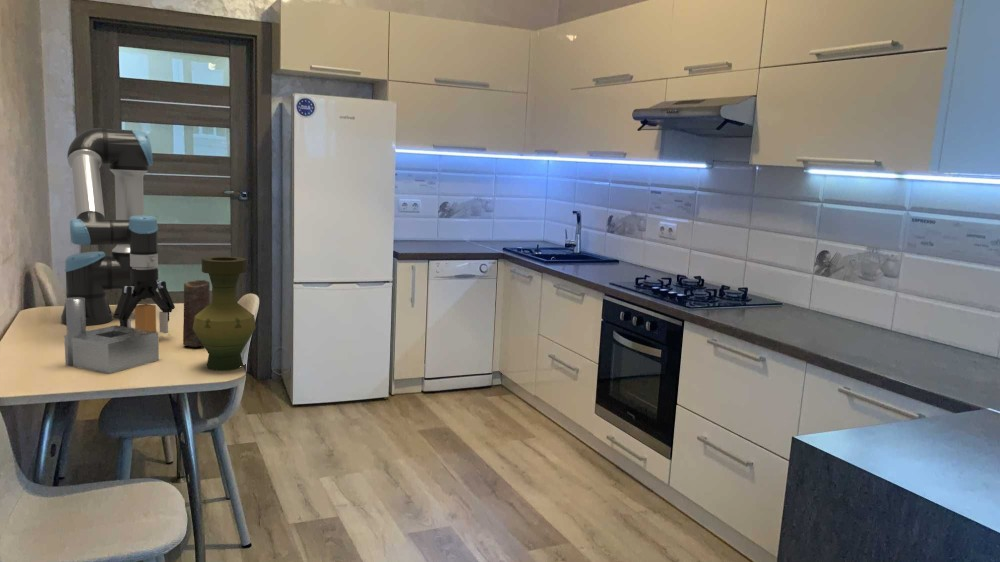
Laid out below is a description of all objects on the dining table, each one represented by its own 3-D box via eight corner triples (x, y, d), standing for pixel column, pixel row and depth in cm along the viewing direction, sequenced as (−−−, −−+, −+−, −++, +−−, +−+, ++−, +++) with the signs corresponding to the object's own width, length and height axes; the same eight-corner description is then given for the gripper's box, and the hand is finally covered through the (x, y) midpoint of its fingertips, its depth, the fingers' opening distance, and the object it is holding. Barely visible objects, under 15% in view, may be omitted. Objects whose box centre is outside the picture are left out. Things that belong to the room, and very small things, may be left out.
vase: (267, 362, 205) (267, 258, 200) (234, 376, 189) (233, 264, 185) (216, 356, 208) (215, 253, 204) (180, 370, 193) (178, 259, 188)
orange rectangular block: (135, 344, 216) (134, 305, 214) (146, 342, 220) (145, 303, 218) (145, 346, 215) (144, 307, 213) (156, 343, 218) (155, 305, 217)
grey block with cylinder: (64, 364, 192) (61, 299, 189) (116, 352, 207) (114, 290, 204) (108, 373, 186) (106, 306, 183) (158, 360, 201) (157, 297, 198)
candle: (215, 345, 220) (214, 281, 217) (198, 350, 213) (197, 284, 210) (195, 342, 222) (194, 278, 219) (177, 347, 216) (176, 281, 213)
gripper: (117, 273, 201) (119, 347, 204) (186, 264, 224) (187, 330, 227) (98, 270, 204) (100, 343, 207) (168, 262, 227) (169, 327, 230)
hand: (145, 337), depth 217 cm, fingers open, 13 cm apart
